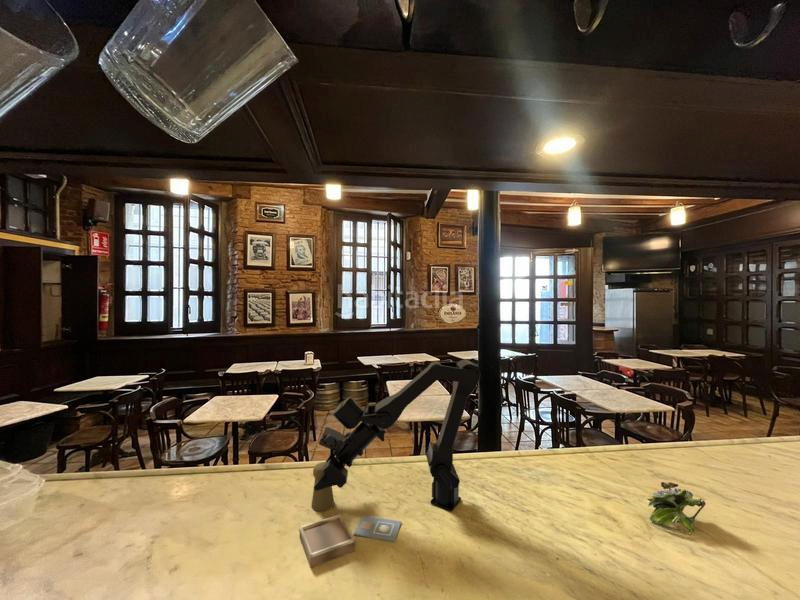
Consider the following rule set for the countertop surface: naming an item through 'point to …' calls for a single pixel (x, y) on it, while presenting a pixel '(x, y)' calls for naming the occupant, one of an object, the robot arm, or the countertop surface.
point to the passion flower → (673, 506)
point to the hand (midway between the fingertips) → (317, 480)
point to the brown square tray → (326, 540)
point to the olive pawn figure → (321, 492)
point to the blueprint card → (378, 528)
